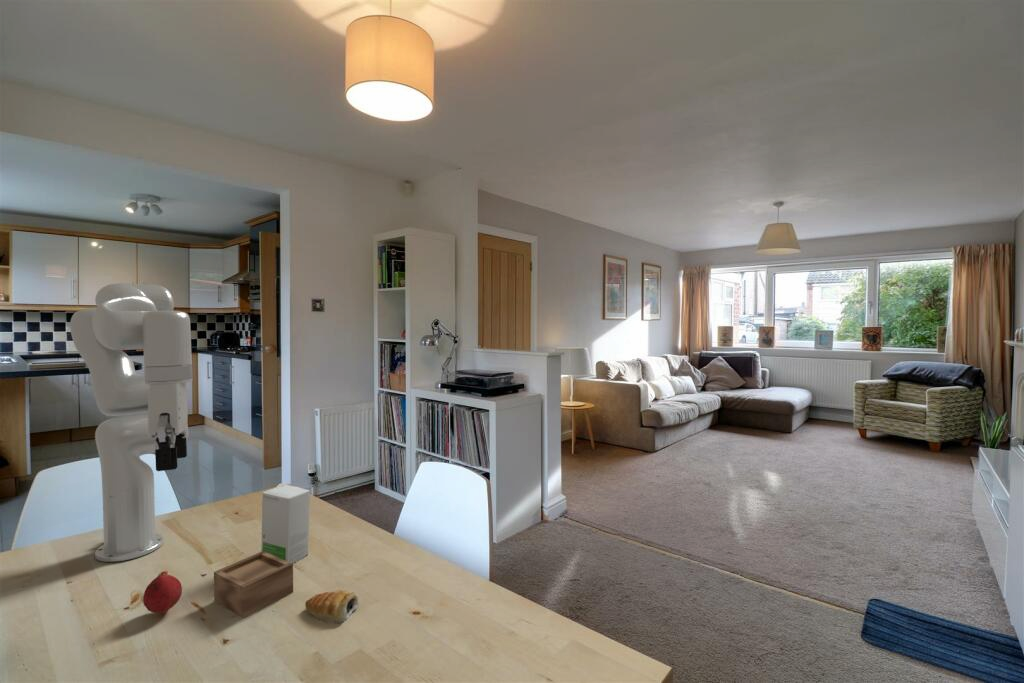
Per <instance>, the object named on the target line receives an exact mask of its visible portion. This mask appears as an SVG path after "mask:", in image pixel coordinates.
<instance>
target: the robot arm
mask: <svg viewBox="0 0 1024 683" xmlns="http://www.w3.org/2000/svg"><path fill="white" fill-rule="evenodd" d="M94 300H95V302H94V303H95V305H96V306H95V307H89V308H88V307H87V308H82V309H79V310H78V311H76V312H75V313H73V314H72V316H71V318H70V324H69V327H70V334H71V338H72V341H73V344H74V347H75V348H76V350H77V353H78V354H79V355H80V358H82V360H83V361H84V363H85V365H86V366H87V368H88V370H89V374H90V379H91V383H92V384H91V385H92V389H93V390H92V391H93V393H94V398H95V403H96V406H97V409H98V410H99V412H100V413H101V414H102V415H104V416H106V417H112V418H109V419H107V420H104V421H102V422H100V423H99V425H98V426H97V427H96V430H95V433H94V440H95V445H96V450H97V454H98V458H99V464H100V471H101V472H100V473H101V490H102V491H101V493H102V522H103V524H102V525H103V526H102V527H103V544H102V545H101V546H99V547H98V548H97V549H96V550H95V552H94V554H95V557H94V558H95V559H96V560H98V561H99V562H106V563H114V562H123V561H129V560H132V559H136V558H140V557H143V556H145V555H148V554H150V553H152V552H154V551H156V550H157V549H159V548H160V547H161V546H163V544H164V536H163V535H162V534H160V533H157V532H156V517H155V516H156V514H155V513H156V511H155V510H156V509H155V508H156V506H155V476H154V475H155V474H154V470H153V468H152V467H151V466H150V465H149V464H148V463H147V462H146V461H144V460H142V459H141V458H140V457H141V456H144V455H149V454H154V453H155V454H154V456H155V457H154V458H155V471H156V472H165V471H172V470H176V469H178V459H184V458H186V457H187V456H188V450H187V448H188V446H187V442H188V438H189V425H188V416H189V414H188V395H187V394H188V393H187V392H188V391H187V383H189V382H190V383H191V382H193V365H192V363H193V362H192V361H193V359H192V356H193V355H192V336H191V335H192V333H191V330H192V329H191V318H190V316H189V314H188V313H187V312H184V311H179V310H174V308H175V303H174V302H175V301H174V298H173V295H172V293H171V292H170V290H169V289H167V288H166V287H164V286H162V285H158V284H141V283H125V282H124V283H121V282H120V283H111V284H107V285H104V286H103V287H102V288H100V289H99V290H98V291H97V293H96V295H95V299H94ZM129 350H132V351H133V350H143V369H144V370H143V372H144V374H138V373H137V372H136V369H135V365H134V361H133V359H132V358H131V357H130V356H129V355H128V354H127V353H126V352H124V351H129Z"/></svg>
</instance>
